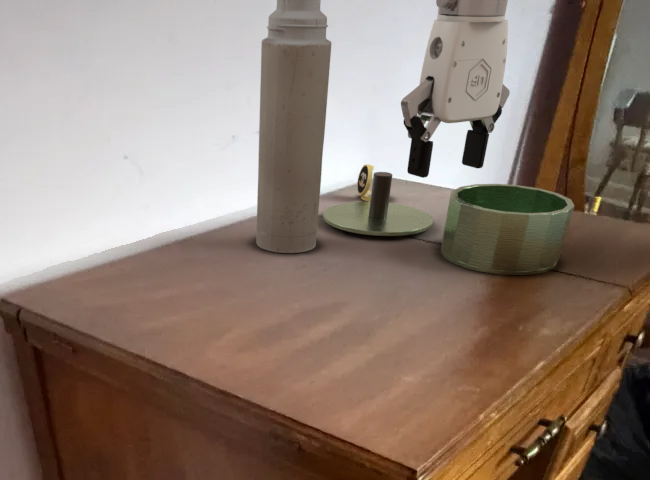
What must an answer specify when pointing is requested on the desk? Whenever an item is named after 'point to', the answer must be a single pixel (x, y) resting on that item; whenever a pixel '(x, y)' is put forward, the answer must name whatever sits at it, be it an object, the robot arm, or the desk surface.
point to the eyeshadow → (365, 182)
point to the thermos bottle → (292, 126)
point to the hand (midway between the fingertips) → (445, 170)
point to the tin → (505, 228)
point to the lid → (378, 213)
